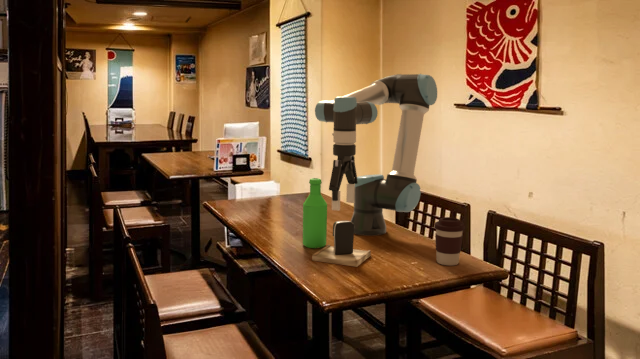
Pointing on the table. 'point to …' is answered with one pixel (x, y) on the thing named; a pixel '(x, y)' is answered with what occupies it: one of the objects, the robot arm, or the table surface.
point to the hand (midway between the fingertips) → (343, 206)
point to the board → (341, 256)
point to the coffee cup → (448, 240)
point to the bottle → (315, 217)
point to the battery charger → (343, 237)
